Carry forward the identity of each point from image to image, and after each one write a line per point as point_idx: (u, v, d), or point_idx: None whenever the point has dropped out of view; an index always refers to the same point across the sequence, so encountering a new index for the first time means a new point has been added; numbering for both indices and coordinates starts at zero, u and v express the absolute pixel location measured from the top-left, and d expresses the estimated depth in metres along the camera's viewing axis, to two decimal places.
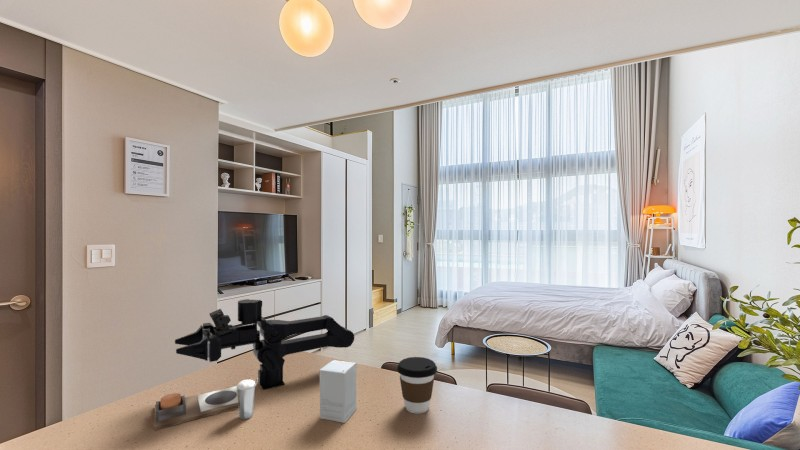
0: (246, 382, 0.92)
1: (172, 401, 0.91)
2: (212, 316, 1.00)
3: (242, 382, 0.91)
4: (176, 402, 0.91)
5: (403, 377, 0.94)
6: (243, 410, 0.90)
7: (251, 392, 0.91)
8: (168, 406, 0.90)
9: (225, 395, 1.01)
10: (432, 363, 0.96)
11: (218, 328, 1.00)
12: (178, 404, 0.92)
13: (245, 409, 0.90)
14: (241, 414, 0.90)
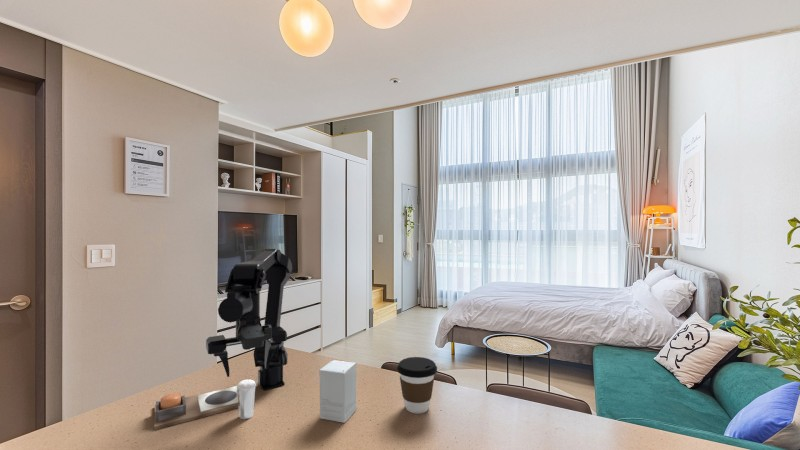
0: (246, 382, 0.91)
1: (172, 401, 0.91)
2: (262, 345, 0.87)
3: (242, 382, 0.91)
4: (176, 402, 0.91)
5: (403, 377, 0.94)
6: (243, 410, 0.90)
7: (251, 392, 0.91)
8: (168, 406, 0.90)
9: (225, 395, 1.01)
10: (432, 363, 0.96)
11: None
12: (178, 404, 0.92)
13: (245, 409, 0.90)
14: (241, 414, 0.90)
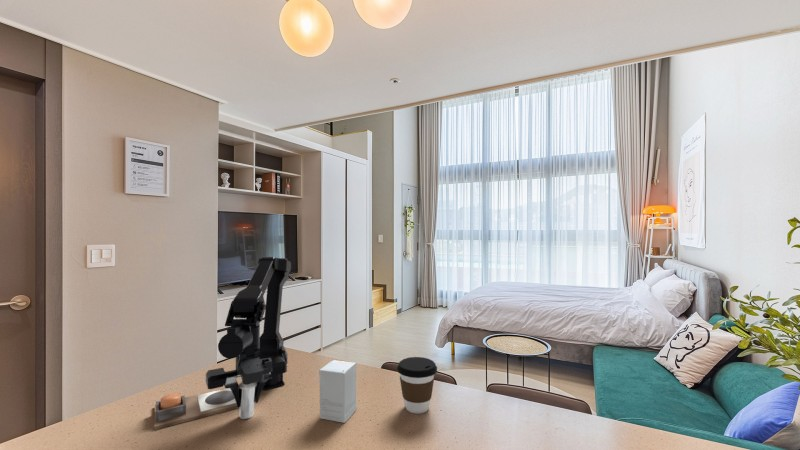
0: None
1: (172, 401, 0.91)
2: (262, 379, 0.87)
3: None
4: (176, 402, 0.91)
5: (403, 377, 0.94)
6: (243, 410, 0.90)
7: (252, 392, 0.91)
8: (168, 406, 0.90)
9: (225, 395, 1.01)
10: (432, 363, 0.96)
11: None
12: (178, 404, 0.92)
13: (245, 409, 0.91)
14: (241, 414, 0.90)
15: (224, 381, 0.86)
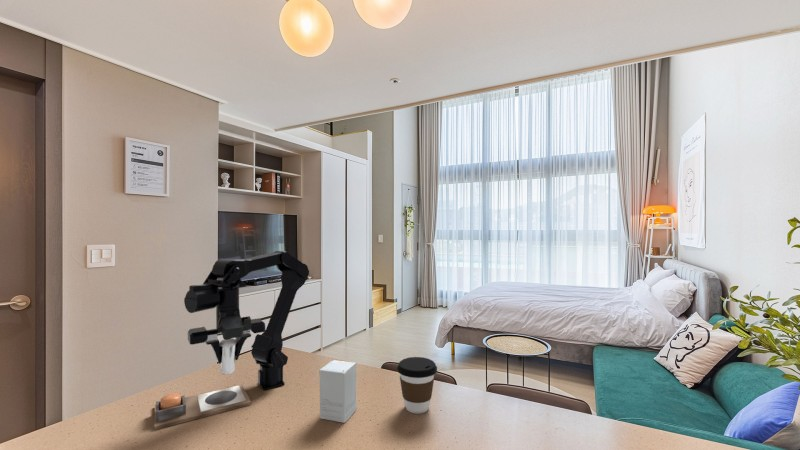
0: (228, 340, 0.98)
1: (172, 401, 0.91)
2: (242, 335, 0.93)
3: (224, 340, 0.98)
4: (176, 402, 0.91)
5: (403, 377, 0.94)
6: (224, 366, 0.97)
7: (232, 349, 0.97)
8: (168, 406, 0.90)
9: (225, 395, 1.01)
10: (432, 363, 0.96)
11: None
12: (178, 404, 0.92)
13: (226, 365, 0.97)
14: (222, 369, 0.97)
15: (205, 337, 0.92)
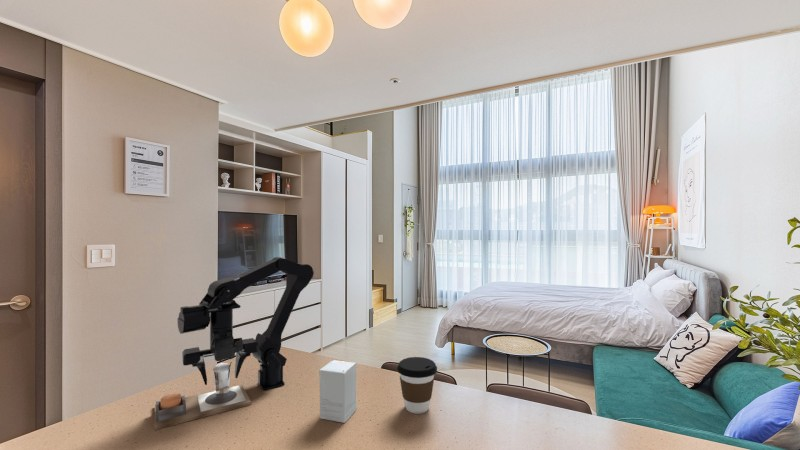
0: (221, 365, 1.00)
1: (172, 401, 0.91)
2: (233, 356, 0.95)
3: (218, 365, 1.00)
4: (176, 402, 0.91)
5: (403, 377, 0.94)
6: (218, 390, 0.99)
7: (226, 374, 0.99)
8: (168, 406, 0.90)
9: None
10: (432, 363, 0.96)
11: None
12: (178, 404, 0.92)
13: (220, 390, 0.99)
14: (217, 394, 0.99)
15: (198, 358, 0.94)
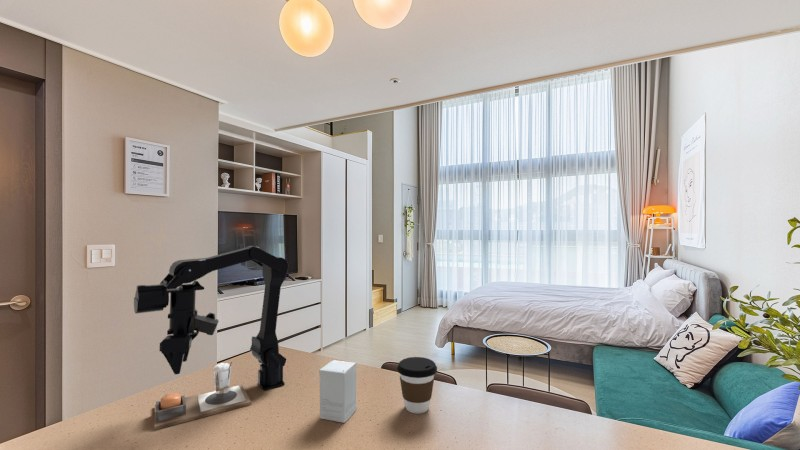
0: (222, 365, 1.00)
1: (172, 401, 0.91)
2: None
3: (218, 365, 1.00)
4: (176, 402, 0.91)
5: (403, 377, 0.94)
6: (218, 390, 0.99)
7: (226, 374, 0.99)
8: (168, 406, 0.90)
9: None
10: (432, 363, 0.96)
11: None
12: (178, 404, 0.92)
13: (220, 390, 0.99)
14: (217, 394, 0.99)
15: (191, 340, 0.90)
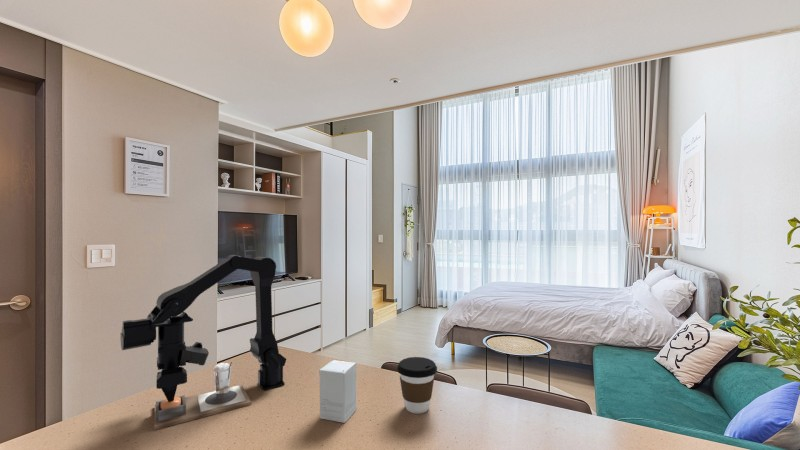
0: (222, 365, 1.00)
1: (172, 404, 0.91)
2: None
3: (218, 365, 1.00)
4: None
5: (403, 377, 0.94)
6: (218, 390, 0.99)
7: (226, 374, 0.99)
8: None
9: None
10: (432, 363, 0.96)
11: None
12: None
13: (220, 390, 0.99)
14: (217, 394, 0.99)
15: None
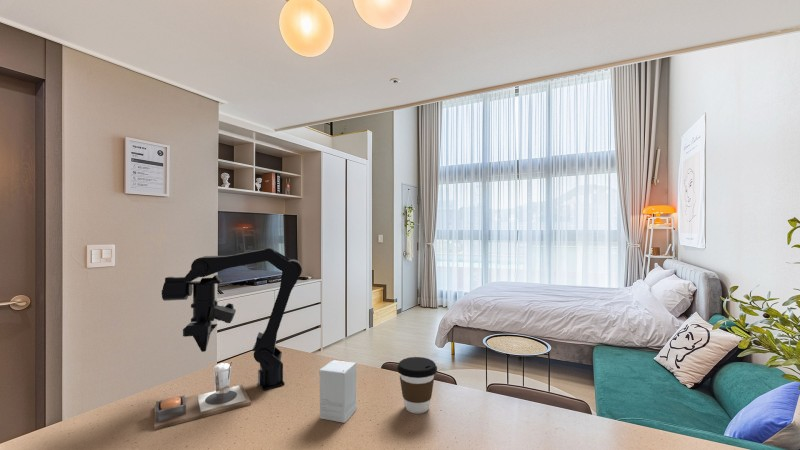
0: (222, 365, 1.00)
1: (172, 404, 0.91)
2: None
3: (218, 365, 1.00)
4: None
5: (403, 377, 0.94)
6: (218, 390, 0.99)
7: (226, 374, 0.99)
8: None
9: None
10: (432, 363, 0.96)
11: None
12: None
13: (220, 390, 0.99)
14: (217, 394, 0.99)
15: (210, 327, 1.01)
